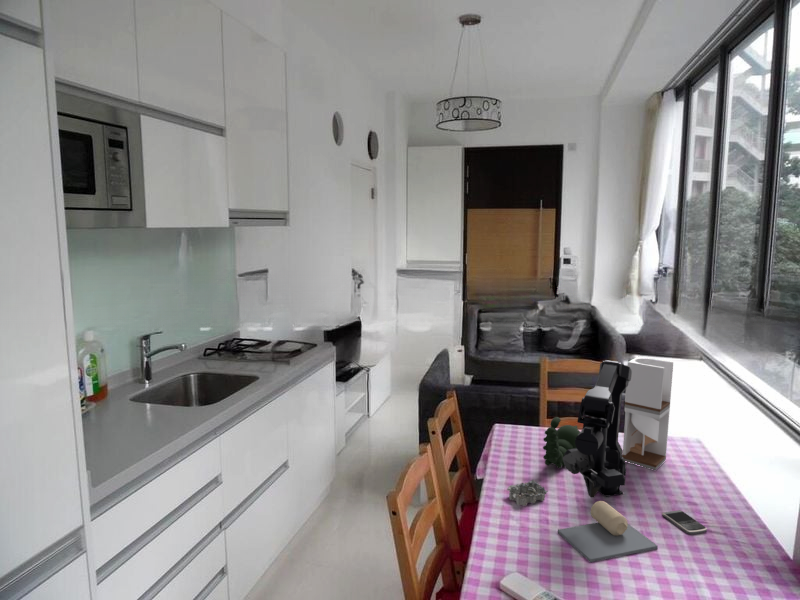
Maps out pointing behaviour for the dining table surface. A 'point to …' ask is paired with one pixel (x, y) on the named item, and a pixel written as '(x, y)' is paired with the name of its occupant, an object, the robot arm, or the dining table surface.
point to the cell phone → (684, 522)
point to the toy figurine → (559, 442)
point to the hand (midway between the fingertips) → (591, 497)
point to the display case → (647, 412)
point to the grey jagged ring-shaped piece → (531, 488)
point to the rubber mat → (605, 541)
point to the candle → (609, 518)
